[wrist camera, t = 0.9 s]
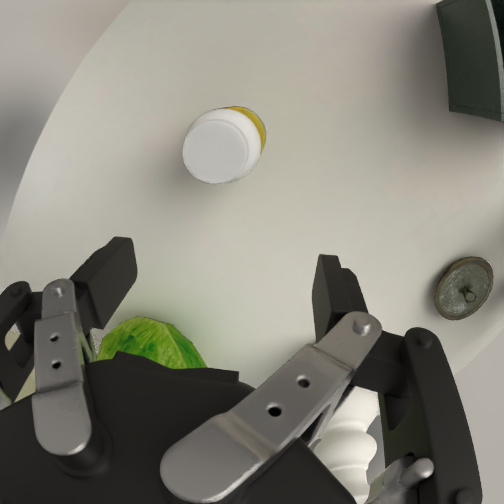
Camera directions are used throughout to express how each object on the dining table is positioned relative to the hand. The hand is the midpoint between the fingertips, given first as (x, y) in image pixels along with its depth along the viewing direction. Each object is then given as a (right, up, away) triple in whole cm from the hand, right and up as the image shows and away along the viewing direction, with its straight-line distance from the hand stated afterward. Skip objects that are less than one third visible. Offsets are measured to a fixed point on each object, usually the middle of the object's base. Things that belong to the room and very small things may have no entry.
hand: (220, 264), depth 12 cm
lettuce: (-13, -14, +33) cm, 39 cm away
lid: (+32, -4, +23) cm, 39 cm away
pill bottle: (0, +13, +17) cm, 21 cm away
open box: (+29, +23, +8) cm, 38 cm away
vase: (+14, -15, +31) cm, 37 cm away
